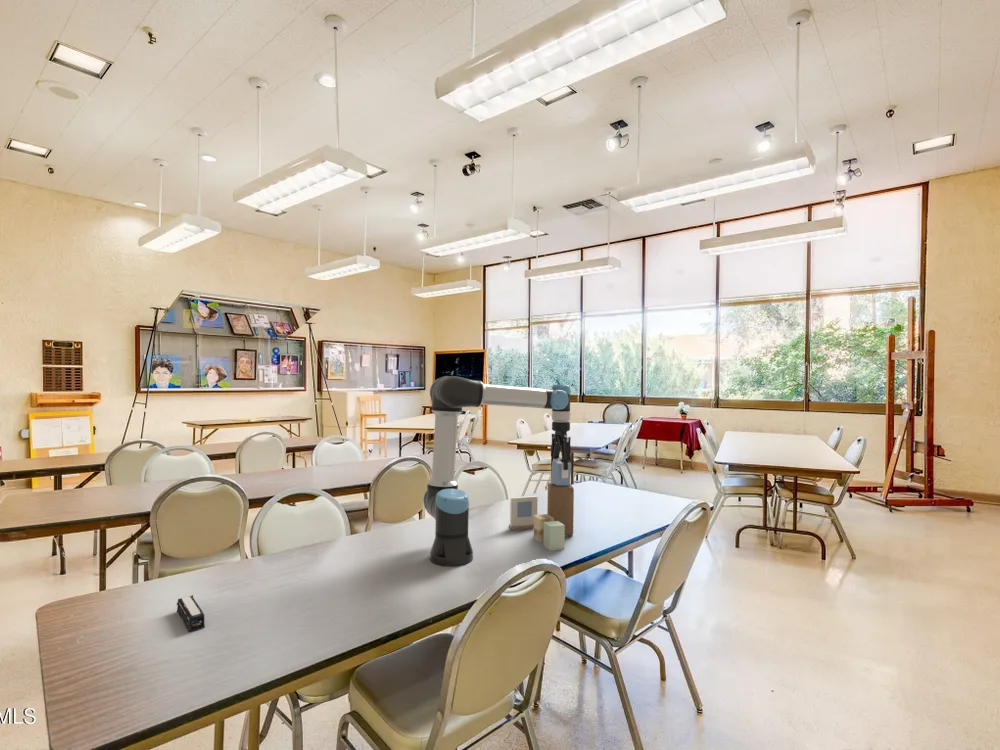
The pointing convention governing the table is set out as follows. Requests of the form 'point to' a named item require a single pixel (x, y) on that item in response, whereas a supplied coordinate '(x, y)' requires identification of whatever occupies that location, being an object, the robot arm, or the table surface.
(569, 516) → the wooden block
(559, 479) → the slate blue block
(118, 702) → the table surface
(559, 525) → the sage block
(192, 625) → the bus
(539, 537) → the maple block
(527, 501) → the placard
